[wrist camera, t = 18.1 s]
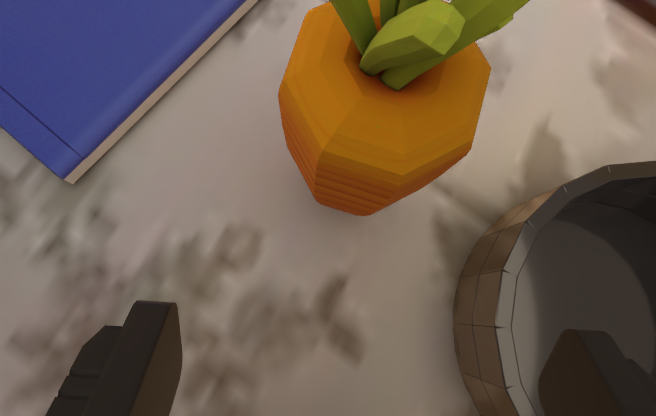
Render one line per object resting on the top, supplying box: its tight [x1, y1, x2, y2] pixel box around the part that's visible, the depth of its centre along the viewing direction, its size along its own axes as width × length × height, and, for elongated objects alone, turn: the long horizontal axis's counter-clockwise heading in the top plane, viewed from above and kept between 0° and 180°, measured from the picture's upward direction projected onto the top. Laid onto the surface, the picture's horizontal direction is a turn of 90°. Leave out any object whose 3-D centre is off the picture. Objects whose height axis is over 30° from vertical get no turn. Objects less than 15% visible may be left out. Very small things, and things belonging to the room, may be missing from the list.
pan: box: [453, 161, 656, 416], centre depth 18 cm, size 12×12×4 cm
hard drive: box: [0, 0, 258, 184], centre depth 21 cm, size 2×8×12 cm
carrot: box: [278, 0, 530, 216], centre depth 14 cm, size 5×5×15 cm
